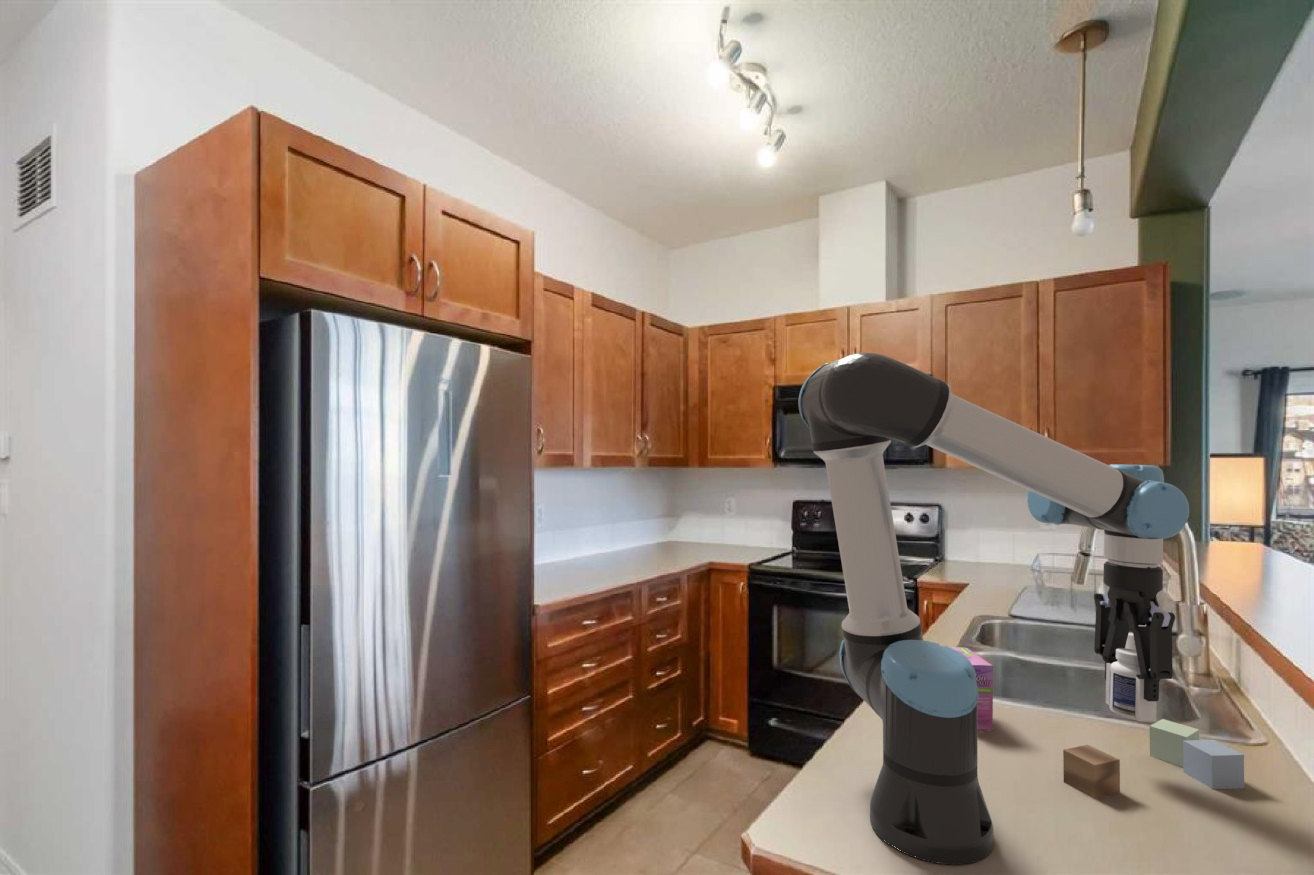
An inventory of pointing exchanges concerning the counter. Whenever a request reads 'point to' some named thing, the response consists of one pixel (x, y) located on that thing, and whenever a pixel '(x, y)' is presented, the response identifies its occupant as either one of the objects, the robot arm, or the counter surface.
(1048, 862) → the counter surface
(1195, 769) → the slate blue cube
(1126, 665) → the pill bottle
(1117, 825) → the counter surface
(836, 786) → the counter surface
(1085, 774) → the walnut cube
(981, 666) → the box
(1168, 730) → the sage cube
